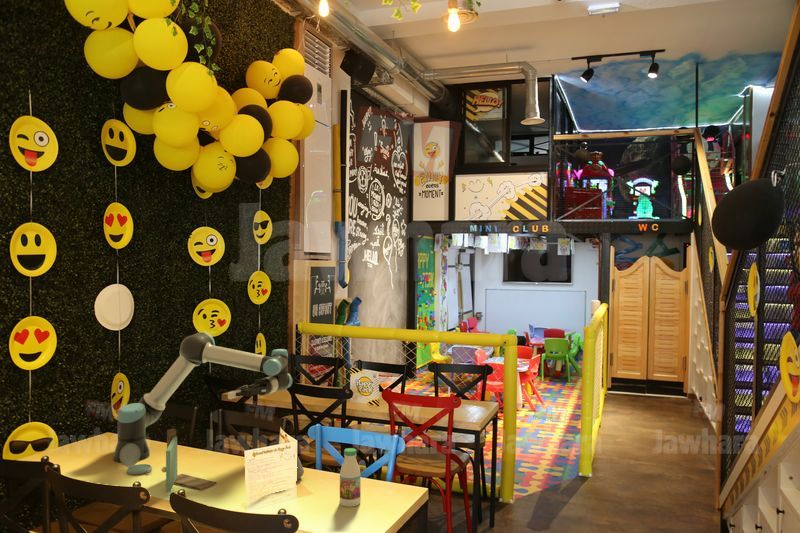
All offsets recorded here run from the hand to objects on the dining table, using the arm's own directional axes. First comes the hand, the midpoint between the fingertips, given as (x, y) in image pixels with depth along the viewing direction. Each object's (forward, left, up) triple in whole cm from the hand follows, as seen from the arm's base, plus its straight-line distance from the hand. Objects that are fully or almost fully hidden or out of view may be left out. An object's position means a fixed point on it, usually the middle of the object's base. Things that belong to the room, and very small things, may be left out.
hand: (229, 395), depth 259 cm
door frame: (+4, -18, -32) cm, 37 cm away
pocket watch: (-21, -32, -32) cm, 50 cm away
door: (+5, -26, -31) cm, 41 cm away
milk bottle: (+61, +23, -32) cm, 73 cm away
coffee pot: (+27, +12, -32) cm, 44 cm away
